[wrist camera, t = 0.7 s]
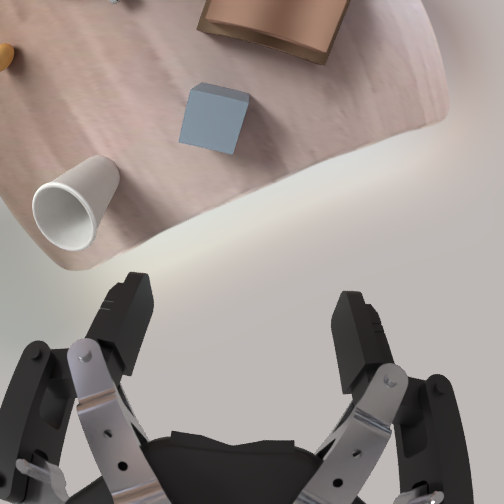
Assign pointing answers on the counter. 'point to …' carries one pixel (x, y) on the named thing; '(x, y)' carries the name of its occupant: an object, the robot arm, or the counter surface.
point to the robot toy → (114, 1)
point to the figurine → (6, 55)
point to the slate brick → (214, 117)
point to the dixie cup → (76, 203)
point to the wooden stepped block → (278, 24)
